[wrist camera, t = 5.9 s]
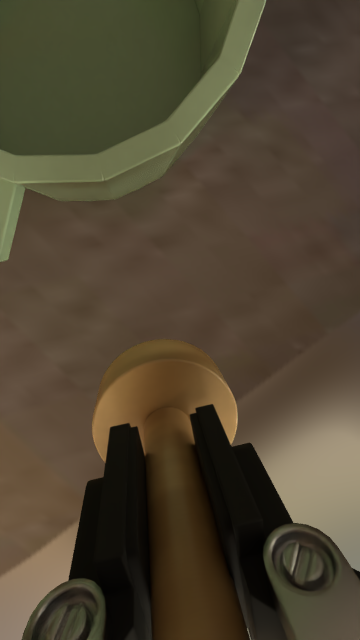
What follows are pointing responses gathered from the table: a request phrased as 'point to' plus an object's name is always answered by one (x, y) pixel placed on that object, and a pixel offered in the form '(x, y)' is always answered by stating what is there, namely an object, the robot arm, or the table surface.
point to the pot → (109, 91)
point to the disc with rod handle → (175, 484)
